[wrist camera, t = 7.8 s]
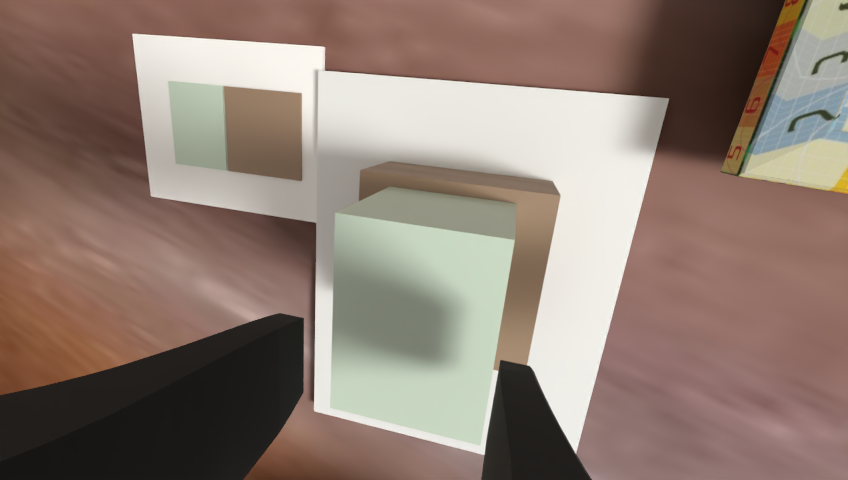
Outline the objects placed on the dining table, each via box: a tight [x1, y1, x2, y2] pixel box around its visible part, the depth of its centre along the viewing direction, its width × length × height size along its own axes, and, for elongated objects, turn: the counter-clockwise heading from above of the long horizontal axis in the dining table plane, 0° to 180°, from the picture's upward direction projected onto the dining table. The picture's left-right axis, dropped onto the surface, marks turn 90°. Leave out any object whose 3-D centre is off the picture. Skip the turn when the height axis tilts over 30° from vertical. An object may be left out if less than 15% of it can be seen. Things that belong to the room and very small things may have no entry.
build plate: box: [314, 70, 669, 455], centre depth 19 cm, size 18×14×1 cm
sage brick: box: [330, 187, 517, 445], centre depth 13 cm, size 6×4×4 cm
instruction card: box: [132, 34, 325, 223], centre depth 20 cm, size 8×10×1 cm
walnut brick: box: [359, 161, 561, 371], centre depth 16 cm, size 7×7×4 cm
